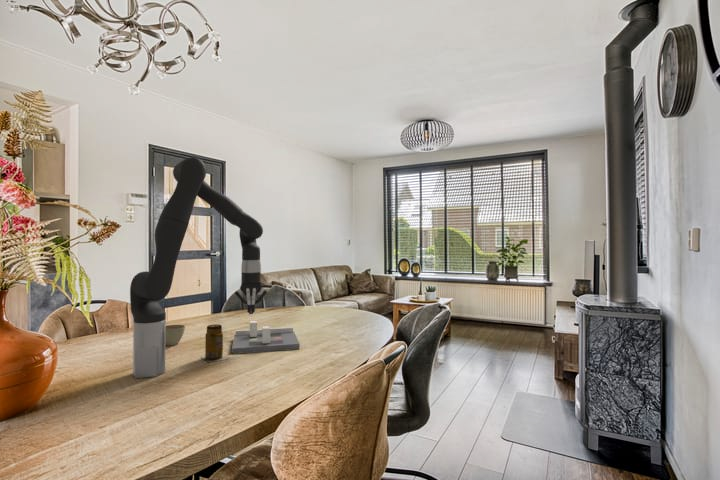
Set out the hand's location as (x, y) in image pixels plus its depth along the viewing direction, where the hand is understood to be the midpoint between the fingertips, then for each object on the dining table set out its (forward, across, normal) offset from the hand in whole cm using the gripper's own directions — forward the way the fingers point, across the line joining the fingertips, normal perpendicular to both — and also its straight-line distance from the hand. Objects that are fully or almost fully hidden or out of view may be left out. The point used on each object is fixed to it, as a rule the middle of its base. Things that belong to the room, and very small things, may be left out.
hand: (251, 313), depth 151 cm
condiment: (+14, -13, -9) cm, 21 cm away
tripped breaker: (+12, +6, 0) cm, 13 cm away
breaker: (+12, +1, +12) cm, 17 cm away
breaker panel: (+14, +6, +6) cm, 16 cm away
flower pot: (+14, -32, +16) cm, 38 cm away
